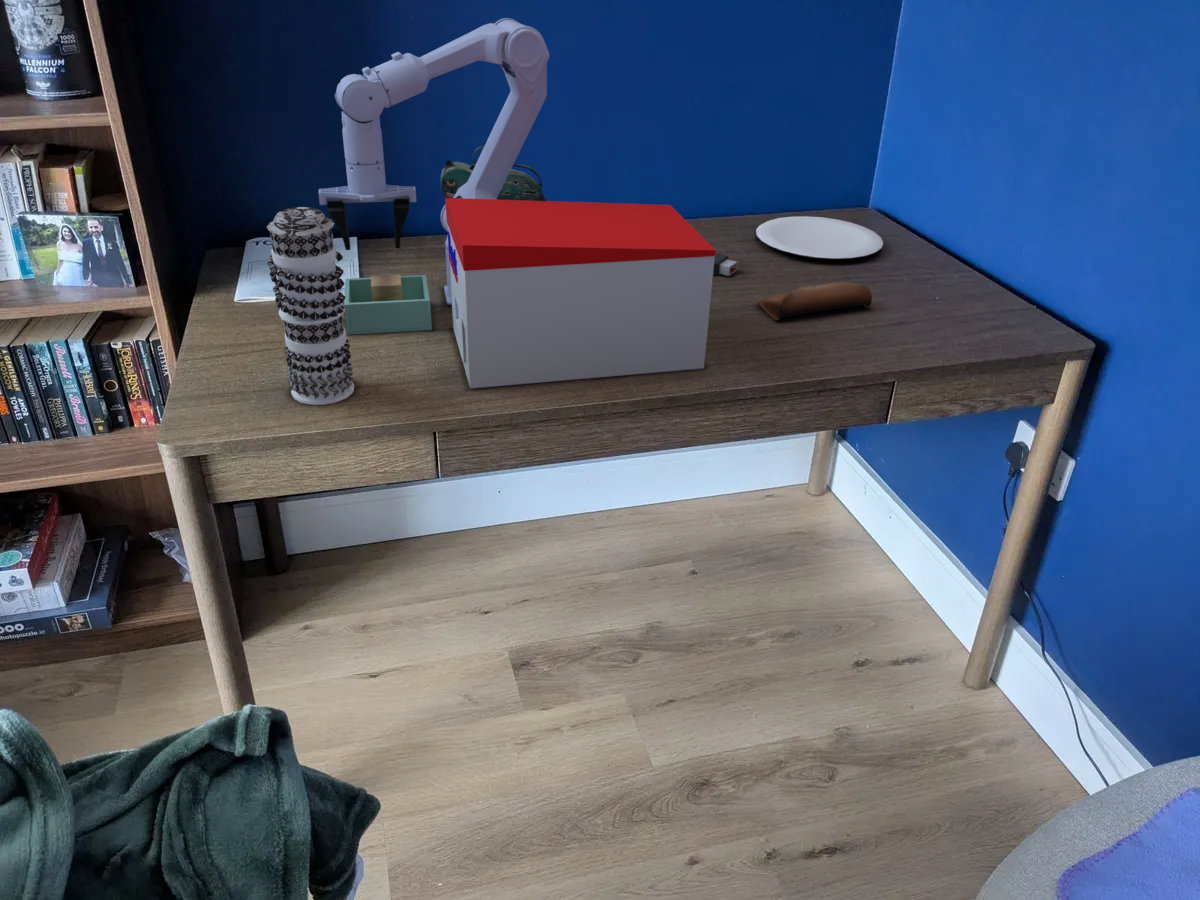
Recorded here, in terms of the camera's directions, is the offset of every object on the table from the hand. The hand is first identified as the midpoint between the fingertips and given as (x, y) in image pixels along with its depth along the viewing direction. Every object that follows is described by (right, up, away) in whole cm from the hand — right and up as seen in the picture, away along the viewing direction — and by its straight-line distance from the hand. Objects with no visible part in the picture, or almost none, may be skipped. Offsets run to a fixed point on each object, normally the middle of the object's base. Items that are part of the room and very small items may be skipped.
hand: (372, 247), depth 151 cm
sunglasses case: (+72, -8, +11) cm, 73 cm away
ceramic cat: (+16, +5, +30) cm, 34 cm away
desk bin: (+2, -11, +2) cm, 11 cm away
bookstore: (+32, -17, -5) cm, 36 cm away
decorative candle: (-2, -24, -19) cm, 31 cm away
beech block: (+2, -11, +2) cm, 11 cm away
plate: (+80, +9, +39) cm, 89 cm away
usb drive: (+55, +1, +26) cm, 61 cm away
